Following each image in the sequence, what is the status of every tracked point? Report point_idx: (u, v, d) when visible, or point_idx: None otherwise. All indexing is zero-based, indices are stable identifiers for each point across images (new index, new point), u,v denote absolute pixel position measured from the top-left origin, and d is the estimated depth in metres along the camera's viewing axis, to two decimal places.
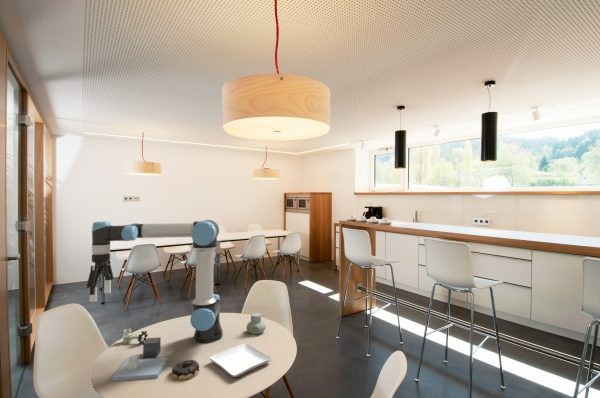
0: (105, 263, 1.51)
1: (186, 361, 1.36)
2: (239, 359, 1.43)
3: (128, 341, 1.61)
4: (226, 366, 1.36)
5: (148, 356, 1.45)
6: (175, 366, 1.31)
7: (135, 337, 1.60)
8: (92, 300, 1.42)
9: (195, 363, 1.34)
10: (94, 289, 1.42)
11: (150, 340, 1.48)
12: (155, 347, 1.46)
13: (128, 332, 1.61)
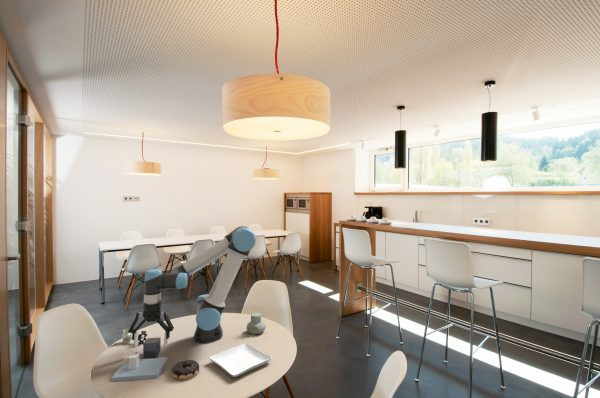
0: (155, 313, 1.48)
1: (186, 361, 1.36)
2: (239, 359, 1.43)
3: (127, 341, 1.61)
4: (226, 366, 1.36)
5: (148, 356, 1.45)
6: (175, 366, 1.31)
7: None
8: None
9: (195, 363, 1.34)
10: None
11: (150, 340, 1.48)
12: (155, 347, 1.46)
13: (127, 332, 1.61)
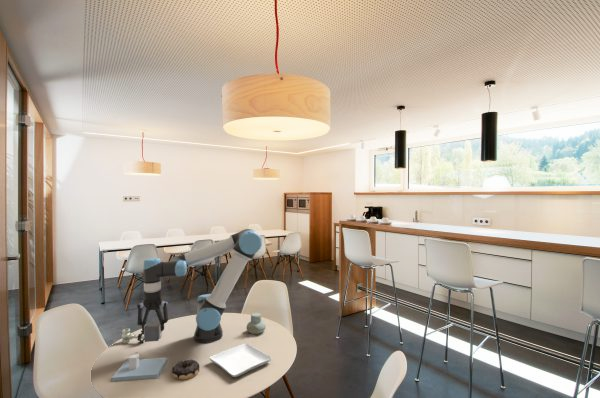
0: (156, 301, 1.48)
1: (186, 361, 1.36)
2: (239, 359, 1.43)
3: (127, 341, 1.61)
4: (226, 366, 1.36)
5: (149, 339, 1.45)
6: (175, 366, 1.31)
7: (134, 337, 1.61)
8: None
9: (195, 363, 1.34)
10: None
11: (151, 324, 1.49)
12: (156, 330, 1.46)
13: (127, 332, 1.61)
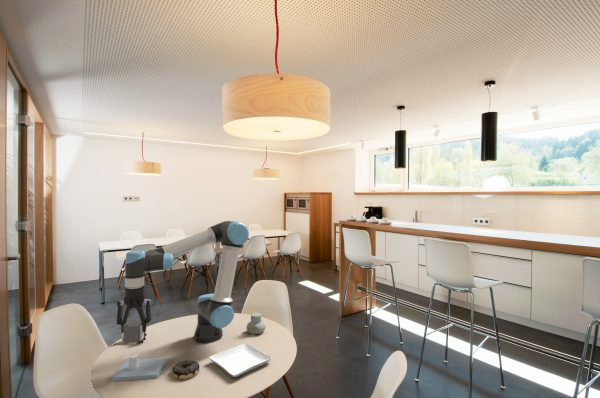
0: (139, 298, 1.34)
1: (186, 361, 1.36)
2: (239, 359, 1.43)
3: None
4: (226, 366, 1.36)
5: (129, 341, 1.31)
6: (175, 366, 1.32)
7: None
8: None
9: (195, 363, 1.34)
10: None
11: (132, 323, 1.34)
12: (137, 331, 1.32)
13: None
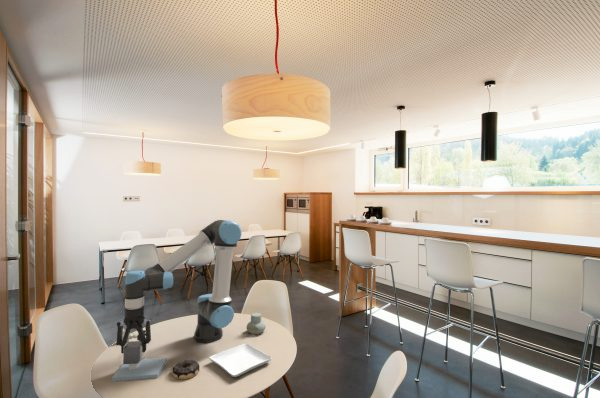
0: (138, 318, 1.34)
1: (186, 361, 1.36)
2: (239, 359, 1.43)
3: (127, 340, 1.62)
4: (226, 366, 1.36)
5: (129, 362, 1.31)
6: (175, 366, 1.32)
7: (134, 336, 1.61)
8: None
9: (195, 363, 1.34)
10: None
11: (132, 344, 1.34)
12: (137, 352, 1.31)
13: None
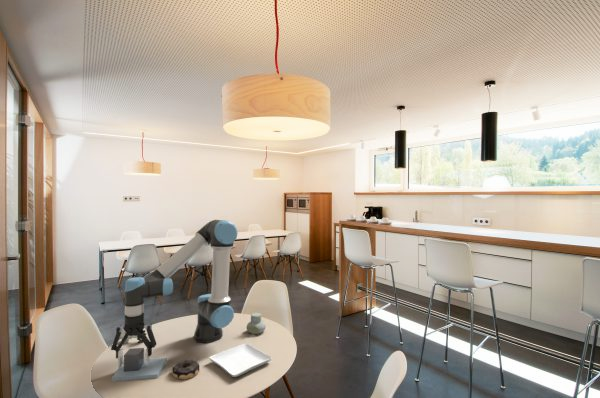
0: (138, 326, 1.33)
1: (186, 361, 1.36)
2: (239, 359, 1.43)
3: (126, 340, 1.62)
4: (226, 366, 1.36)
5: (129, 369, 1.31)
6: (175, 366, 1.32)
7: (134, 336, 1.61)
8: None
9: (195, 363, 1.34)
10: None
11: (132, 351, 1.34)
12: (137, 359, 1.31)
13: None
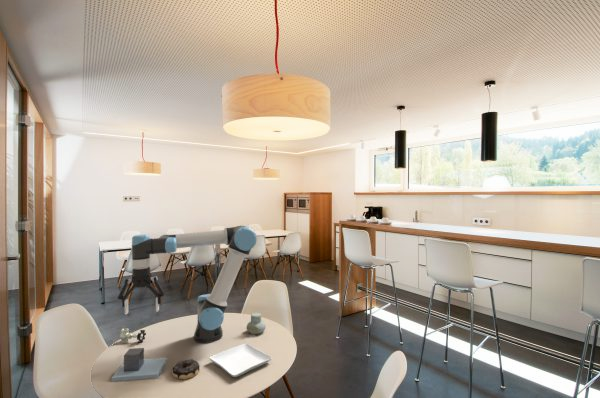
0: (145, 279, 1.45)
1: (186, 361, 1.36)
2: (239, 359, 1.43)
3: (126, 340, 1.62)
4: (226, 366, 1.36)
5: (129, 369, 1.31)
6: (175, 366, 1.32)
7: (133, 336, 1.61)
8: None
9: (195, 363, 1.34)
10: (124, 302, 1.43)
11: (132, 351, 1.34)
12: (137, 359, 1.31)
13: (126, 331, 1.62)
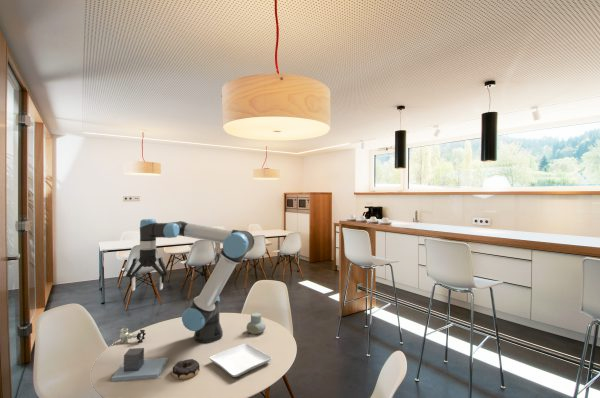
0: (151, 259, 1.58)
1: (186, 361, 1.36)
2: (239, 359, 1.43)
3: (126, 340, 1.62)
4: (226, 366, 1.36)
5: (129, 369, 1.31)
6: (175, 366, 1.32)
7: (133, 336, 1.62)
8: None
9: (195, 362, 1.34)
10: None
11: (132, 351, 1.34)
12: (137, 359, 1.31)
13: (126, 331, 1.62)
